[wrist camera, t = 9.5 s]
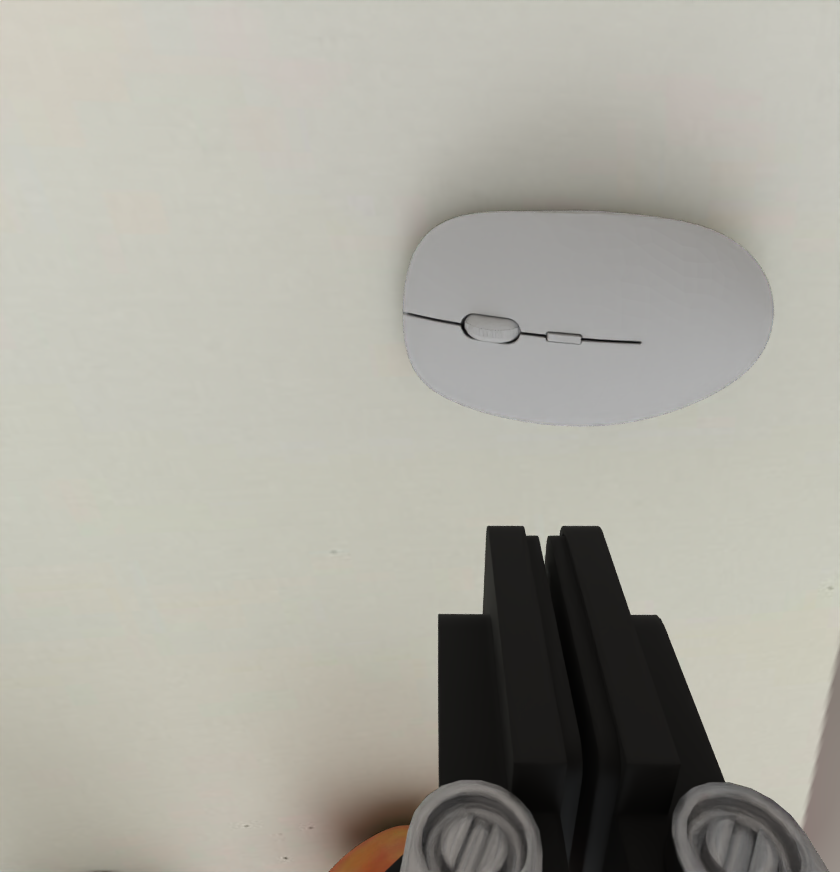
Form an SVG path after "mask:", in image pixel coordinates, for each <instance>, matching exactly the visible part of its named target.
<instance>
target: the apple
mask: <svg viewBox="0 0 840 872" xmlns="http://www.w3.org/2000/svg"><path fill="white" fill-rule="evenodd" d="M409 826H410V825H400V826H396V827H392V828H389V829H387V830H384V831H382V832H380V833H378V834H376V835H374V836H372V837H371V838H369V839H367V840H365V841H364V842H362V843H361V844H359V845H358V846H356V847H355V848H354V849H352V850H351V851H350V852H349V853H347V854H346V855H345V856H344V857H343V858H342V859H341V860H339V861H338V862H337V864H336V865H335V866H334V867H333V868H332V869H331V870H330V871H329V872H385V871H386V870H387V869H388V868H389V867H390V866H391V865H392V864H393V863H394V862H395V861H396V860H397V859H399V858H400V857H401V856H402V855H403V853H404V848H405V843H406V837H407V832H408V828H409Z"/></svg>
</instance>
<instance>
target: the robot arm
mask: <svg viewBox="0 0 840 872" xmlns="http://www.w3.org/2000/svg"><path fill="white" fill-rule="evenodd" d="M438 733H439V788H438V789H437V790H435V791H434V792H432V793H431V794H429V795H428V796H426V798H425V799H424V800H423V801H422V803H421V804H420V805H419V807H418V808H417V809H416V810H415V812H414V815H413V817H412V820H411V823H410V826H409V828H408V832H407V837H406V843H405V848H404V853H403V855H402V856H401V857H400V858H399V859H397V860H396V861H395V862H394V863H393V864H392V865H391V866H390V867H389V868H388V869H387V870H386V871H385V872H829V871H828V869H827V867H826V866H825V864H824V862H823V861H822V859H821V858H820V856H819V854H818V853H817V851H816V850H815V848H814V846H813V845H812V843H811V841H810V840H809V838H808V837H807V835H806V834H805V832H804V831H803V830H802V829H801V827H800V826H799V825H798V823H797V822H796V821H795V820H794V818H793V817H792V816H791V815H790V814H789V813H788V812H786V811H785V810H784V809H783V808H782V807H780V806H779V805H778V804H777V803H776V802H774V801H773V800H772V799H770V798H768V797H766V796H764V795H763V794H761V793H759V792H757V791H755V790H753V789H751V788H748V787H744V786H741V785H737V784H734V783H730V782H725V780H724V778H723V775H722V773H721V770H720V768H719V765H718V762H717V760H716V757H715V755H714V752H713V750H712V747H711V744H710V742H709V739H708V737H707V734H706V732H705V729H704V726H703V724H702V721H701V719H700V716H699V714H698V711H697V708H696V706H695V703H694V701H693V698H692V696H691V693H690V690H689V688H688V685H687V683H686V680H685V678H684V675H683V673H682V670H681V667H680V665H679V662H678V660H677V657H676V655H675V652H674V649H673V647H672V644H671V642H670V639H669V637H668V634H667V631H666V629H665V627H664V625H663V623H662V621H661V619H660V618H659V617H658V616H657V615H631V614H630V611H629V609H628V606H627V603H626V600H625V597H624V594H623V591H622V588H621V585H620V582H619V579H618V576H617V573H616V570H615V567H614V564H613V561H612V558H611V555H610V552H609V549H608V546H607V544H606V541H605V538H604V535H603V532H602V530H601V528H600V527H599V526H563V527H561V530H560V536H548V538H547V545H546V555H545V565H544V560H543V556H542V551H541V546H540V541H539V537H538V536H526V534H525V529H524V527H523V526H487V531H486V551H485V575H484V598H483V614H438Z"/></svg>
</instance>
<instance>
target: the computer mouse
mask: <svg viewBox="0 0 840 872" xmlns="http://www.w3.org/2000/svg"><path fill="white" fill-rule="evenodd" d="M773 317H774V304H773V296H772V292H771V288H770V285H769V282H768V280H767V277H766V276H765V274H764V272H763V270H762V268H761V267H760V265H759V264H758V263H757V261H756V260H755V259H754V258H753V257H752V256H751V254H750V253H749V252H748V251H746V250H745V249H744V248H743V247H742V246H740V245H739V244H738V243H736V242H735V241H733V240H732V239H730V238H728V237H727V236H725V235H723V234H721V233H719V232H716V231H714V230H712V229H709V228H706V227H703V226H700V225H697V224H693V223H689V222H685V221H681V220H674V219H668V218H661V217H654V216H646V215H638V214H630V213H618V212H606V211H580V210H564V211H493V212H480V213H472V214H467V215H461V216H458V217H454V218H452V219H449V220H447V221H444V222H443V223H441V224H439V225H437V226H436V227H434V228H433V229H432V230H430V231H429V232H428V233H427V234H426V235H425V236H424V237H423V239H422V240H421V241H420V243H419V244H418V246H417V248H416V250H415V251H414V253H413V255H412V258H411V261H410V264H409V267H408V271H407V276H406V281H405V288H404V299H403V329H404V339H405V344H406V349H407V353H408V357H409V359H410V362H411V364H412V367H413V369H414V370H415V372H416V374H417V375H418V376H419V378H420V379H421V380H422V381H423V382H424V383H425V384H426V385H427V386H428V387H429V388H431V389H432V390H433V391H435V392H436V393H438V394H440V395H442V396H443V397H445V398H447V399H449V400H451V401H454V402H456V403H458V404H460V405H463V406H466V407H469V408H471V409H474V410H477V411H481V412H484V413H488V414H491V415H495V416H499V417H504V418H508V419H513V420H518V421H524V422H530V423H537V424H547V425H560V426H604V425H613V424H622V423H628V422H634V421H639V420H644V419H648V418H652V417H656V416H660V415H663V414H666V413H669V412H672V411H675V410H678V409H681V408H684V407H686V406H689V405H691V404H694V403H696V402H698V401H700V400H702V399H705V398H707V397H709V396H711V395H713V394H715V393H716V392H718V391H720V390H722V389H723V388H725V387H726V386H728V385H730V384H731V383H733V382H734V381H735V380H737V379H738V378H739V377H741V376H742V375H743V374H744V373H745V372H746V371H747V370H749V368H750V367H751V366H752V365H753V364H754V363H755V362H756V361H757V359H758V358H759V356H760V355H761V353H762V352H763V350H764V348H765V346H766V344H767V342H768V339H769V336H770V333H771V329H772V325H773Z"/></svg>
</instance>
